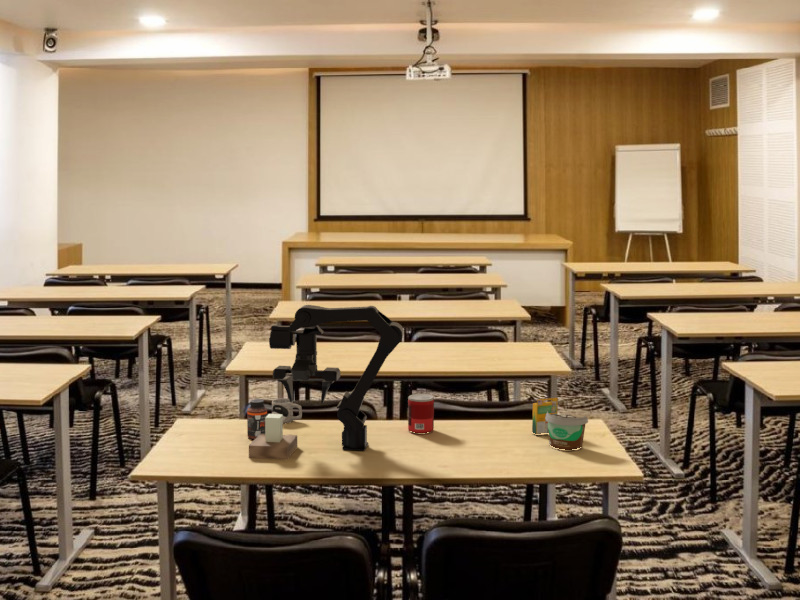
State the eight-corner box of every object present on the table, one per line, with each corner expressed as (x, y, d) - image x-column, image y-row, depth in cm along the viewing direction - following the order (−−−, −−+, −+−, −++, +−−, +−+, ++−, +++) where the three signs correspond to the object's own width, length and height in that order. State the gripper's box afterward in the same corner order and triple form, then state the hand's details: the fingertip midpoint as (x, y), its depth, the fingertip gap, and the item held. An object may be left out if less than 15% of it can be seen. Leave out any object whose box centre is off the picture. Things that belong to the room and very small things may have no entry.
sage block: (282, 438, 223) (282, 414, 222) (279, 442, 219) (279, 418, 219) (268, 437, 224) (268, 413, 223) (265, 441, 220) (265, 417, 219)
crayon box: (552, 431, 244) (553, 395, 242) (557, 434, 241) (558, 397, 239) (531, 433, 241) (532, 397, 240) (536, 436, 238) (537, 399, 237)
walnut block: (297, 448, 227) (297, 435, 226) (287, 461, 216) (287, 447, 215) (260, 447, 228) (260, 433, 227) (248, 459, 217) (248, 445, 217)
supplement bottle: (263, 440, 232) (262, 403, 231) (244, 439, 234) (243, 402, 232) (270, 434, 238) (269, 398, 237) (252, 433, 239) (251, 397, 238)
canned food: (438, 432, 242) (439, 397, 241) (417, 436, 238) (417, 401, 236) (424, 426, 249) (424, 392, 247) (403, 430, 244) (403, 395, 243)
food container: (541, 449, 226) (542, 416, 225) (544, 443, 232) (545, 410, 230) (584, 454, 222) (585, 420, 220) (587, 448, 227) (588, 414, 226)
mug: (268, 423, 251) (268, 402, 250) (276, 417, 257) (276, 397, 256) (298, 425, 249) (298, 404, 248) (305, 419, 255) (305, 399, 254)
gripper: (266, 353, 217) (267, 408, 219) (332, 356, 215) (332, 411, 217) (278, 346, 228) (278, 398, 230) (340, 348, 226) (340, 401, 228)
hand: (306, 402), depth 226 cm, fingers open, 9 cm apart
